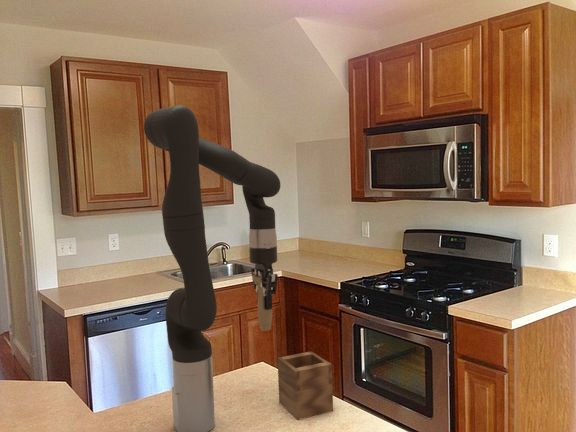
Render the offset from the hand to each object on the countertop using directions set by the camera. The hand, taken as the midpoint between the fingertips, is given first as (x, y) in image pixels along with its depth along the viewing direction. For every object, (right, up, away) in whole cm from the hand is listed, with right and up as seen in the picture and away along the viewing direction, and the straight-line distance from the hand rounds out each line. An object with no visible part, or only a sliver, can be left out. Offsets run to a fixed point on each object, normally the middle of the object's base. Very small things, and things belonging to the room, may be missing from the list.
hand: (264, 307), depth 138 cm
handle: (0, -6, 0) cm, 6 cm away
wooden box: (+11, -24, -8) cm, 28 cm away
